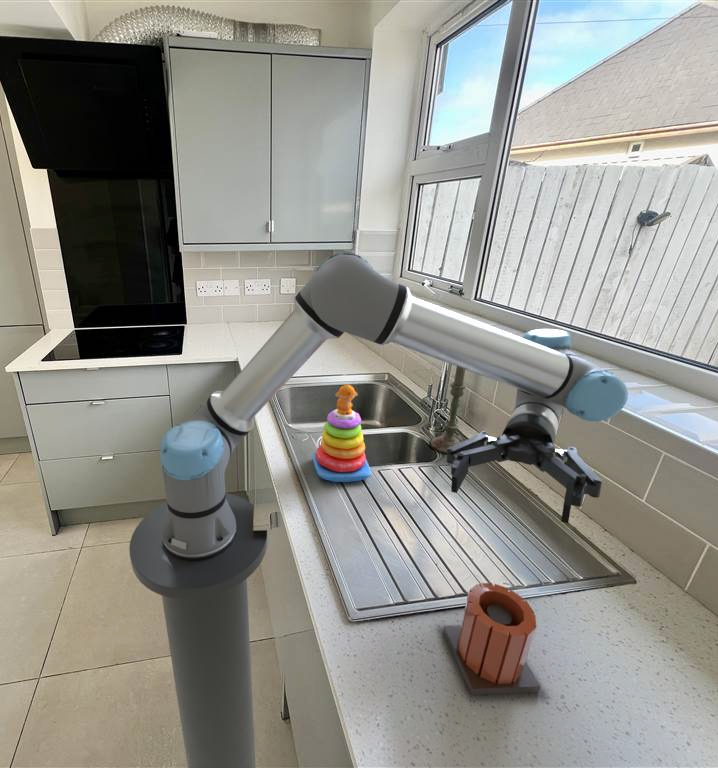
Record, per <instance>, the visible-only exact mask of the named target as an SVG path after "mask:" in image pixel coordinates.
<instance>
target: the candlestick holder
mask: <svg viewBox="0 0 718 768" xmlns="http://www.w3.org/2000/svg"><path fill="white" fill-rule="evenodd" d="M466 371H467V370H466V369H463V368H460V367H458V366H456V369H455V375H454V381H453V382H451V383H450V387H451V389H450V391H449V392H450V393H449V394H450V395H451V396H452V399H451V403H450V406H451V407H450V413H449V420H448V421H447V422H446V423H444V425H443V426H444V431H445V435H439V436H436V437H434V438H432V439H431V440H430V446H431V447H432V448H433V449H434V450H436V451H437V452H439V453H443V454H446V455H447V448H449V447H451V446H454V445H456V444H459V443H461V442H462V441H461V440H460V439H459V438H457V437H455V434H456V433H457V432H458V430H459V425H458V424H457V423H456V418H457V414H458V409H459V407H460V398H461V397H463V396H464V394H465V389H466V388H467V385H466V384H465V383H464V381H465V375H466ZM459 440H460V441H461V442H460V441H459Z"/></svg>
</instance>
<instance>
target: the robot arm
mask: <svg viewBox="0 0 718 768" xmlns="http://www.w3.org/2000/svg"><path fill="white" fill-rule="evenodd" d="M293 300H294V301H293V302H294V310H292V312H290V314H289V315H288V317H287V318H286V319H285V320H284V321H283V322H282V323H281V325H280V326H279V327H278V328H277V329H276V331H274V333H273V334H271V336H270V337H269V338H268V340H267V341H266V342H265V343H264V344H263V345H262V347H260V349H259V350H258V351H257V352H256V353H255V355H253V357H252V358H251V359H250V360H249V361H248V362H247V364H246V365H245V366H244V367H243V368H242V369H241V371H240V372H239V373H238V374H237V375H236V377H235V378H233V380H232V381H231V382H230V384H228V386H227V387H226V388H225V389H224V390H215V391H214V392H213V393H212V394H211V395H210V396H208V398H207V399H206V400H205V402H203V403H202V404H200V406H198V408H197V409H196V410H195V411H194V413H193V415H192V417H191V418H190V420H189V421H186V422H181V423H180V424H179V425H174V426H173V427H172V428H170V429H169V430H168V431H166V433H165V434H164V435H163V437H162V439H161V442H160V446H159V449H160V455H159V459H160V460H159V461H160V466H161V469H162V477H163V484H164V492H165V500H166V502H167V511H166V515H165V519H164V522H163V526H162V542H163V546H164V548H165V549H166V551H167V552H168V553H169V554H170V555H172V556H174V557H176V558H178V559H181V560H186V561H200V560H205V559H209V558H212V557H214V556H217V555H219V554H220V553H222V552H223V551H225V550H226V549H227V548H228V547H229V546H230V545H231V544H232V543H233V541H234V539H235V537H236V532H237V527H236V520H235V516H234V514H233V512H232V510H231V508H230V506H229V504H228V502H227V500H226V494H225V493H226V482H225V481H226V479H225V477H226V476H225V475H226V474H225V473H226V468H227V466H228V464H229V461H230V460H231V457H232V454H233V452H234V450H235V448H236V447H237V446H238V444H239V443H240V442H241V441H243V439H244V438H245V437H246V436H247V435H248V434H249V433H250V432H251V431H252V430H253V429H254V426H255V419H254V417H256V416H257V414H258V413H259V412H260V411H261V410H262V409H263V408H264V407H265V406H266V405H267V404H268V403H269V401H271V399H272V398H273V397H275V395H276V394H277V393H278V392H279V391H280V390H281V389H282V388H283V386H285V385H286V384H287V383H288V381H289V380H290V379H291V378H292V377H293V376H294V375H295V374H296V373H297V371H299V370H300V369H301V368H302V366H304V364H305V363H307V361H308V360H309V359H310V358H311V357H312V356H313V355H314V354H315V353H316V351H317V350H318V349H319V348H320V347H321V346H322V345H323V344H324V343H325V342H326V341H327V340H331V339H340V338H341V336H342V335H343V334H344V333H346V334H348V335H352V336H355V337H357V338H361V339H364V340H366V341H369V342H372V343H375V344H378V345H380V346H384V345H387V344H389V343H393V344H397V345H399V346H402V347H404V348H407V349H410V350H412V351H415V352H418V353H420V354H423V355H425V356H428V357H431V358H433V359H436V360H439V361H442V362H444V363H447V364H449V365H453V366H455V367H457V366H458V367H460V368H463V369H466V370H465V371H468V372H472V373H473V374H477V375H479V376H481V377H484V378H487V379H490V380H493V381H496V382H498V383H501V384H503V385H507V386H509V387H511V388H514V389H516V396H515V397H516V398H515V405H514V408H513V411H512V412H511V414H510V417H509V418H508V421H507V422H506V425H505V427H504V429H503V431H502V433H501V435H498V436H497V437H494V436H489V432H488V431H486V430H480V431H479V433H478V434H477V435H475V436H473V437H471V438H468V439H466V440H463V441H461V443H459V444H456V445H454V446H451V447H449V448H447V454H446V463H447V464H450V465H451V466H450V475H451V487H450V489H451V490H450V491H451V493H455V494H457V493H458V492H459V489H460V488H461V486H462V484H463V482H464V480H465V478H466V477H467V474H468V473H469V468H470V467H475V466H479V465H483V464H487V463H492V462H495V461H496V462H497V463H502V462H507V461H510V462H514V463H521V464H524V465H527V466H528V465H529V466H534V467H535V468H536V469H538V470H539V471H540V472H543V473H544V472H545V473H547V474H548V476H550V477H551V478H552V479H554V480H555V481H556V482H557V483H558V484H559V485H561V486H562V487H563V488H565V495H564V500H563V505H562V506H563V507H562V513H561V520H560V522H561V523H565V524H569V520H570V515H571V507H572V506H574V507H579V508H581V507H582V506H583V503H584V496H585V495H588V496H589V497H591V498H595V499H598V498H600V495H601V490H602V485H603V480H602V479H601V478H600V477H599V476H598V475H597V474H596V473H595V472H594V470H592V469H591V467H590V466H589V465H588V464H587V463H586V462H585V460H583V459H582V458H581V457H580V456H579V454H578V450H577V447H574V446H567V447H566V449H558V448H556V447H555V441H556V437H557V433H558V429H559V423H560V420H561V417H562V416H563V413H564V408H565V409H566V410H567V411H568V412H569V413H570V414H571V415H573V416H576V417H578V418H580V419H581V420H584V421H587V422H602V421H606V420H609V419H611V418H613V417H614V416H617V414H619V413H620V412H621V410H622V409H623V408H624V407H625V406H626V404H627V401H628V400H629V390H628V388H627V387H628V386H627V385H626V383H625V382H624V381H623V380H622V379H621V378H619V377H618V376H616V375H614V373H613V372H611V371H609V370H606V369H604V368H602V367H600V366H598V365H596V364H594V363H593V362H590V361H588V360H586V359H584V358H583V357H582V356H580V355H578V354H576V353H574V352H572V351H571V349H572V348H573V345H572V335H571V333H570V332H568V331H566V330H562V329H556V328H539V329H538V328H537V329H532V330H530V331H526V332H525V333H524V334H523V336H522V337H521V336H518V335H515V334H513V333H510V332H508V331H505V330H502V329H499V328H498V327H495V326H491V325H489V324H486V323H484V322H481V321H478V320H477V319H473V318H471V317H468V316H465V315H462V314H460V313H457V312H455V311H452V310H449V309H447V308H444V307H441V306H439V305H437V304H433V303H430V302H428V301H426V300H423V299H421V298H417V297H415V296H413V295H412V293H411V291H410V289H409V287H408V286H406V285H403V284H400V283H398V282H395V281H393V280H391V279H389V278H387V277H385V276H384V275H383V274H381V273H379V272H378V271H377V270H375V269H374V268H373V266H372V265H371V264H370V263H369V262H368V260H367V259H364V258H363V257H362V256H361V255H358V254H356V253H353V252H351V253H350V252H339V253H335V254H332V255H331V256H328V257H327V258H326V259H324V260H323V261H322V262H321V263H320V264H319V265H318V267H317V269H316V271H315V273H313V275H312V276H311V277H310V278H309V280H308V281H307V282H306V283H305V284H304V285H303V287H302V288H301V289H300V291H298V293H297V294H296V295H295V296H294V298H293Z"/></svg>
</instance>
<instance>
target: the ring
mask: <svg viewBox="0 0 718 768" xmlns="http://www.w3.org/2000/svg"><path fill="white" fill-rule="evenodd" d="M490 605H499V606H501V607H503V608H505V609H506V610H507V611H508V612H509V613H510V614H511V616H512V622H511V626H506V625H503V624H500V623H498V622H495V621H494V620H492V619H491V618H490V617H489V616H487V615H486V611H487V608H488V607H489V606H490ZM536 629H537V615H535V611H534V610H533V608H532V607H531V605H530V604H529V602H528V601H527V600H525V598H524V597H522V596H521V595H519V594H518V593H517V592H515V591H514V590H512V589H511V590H510V589H509V588H508V587H506V586H503V585H500V584H498V583H494V584H493V583H492V582H482V583H481V582H480V583H478V584H475V585H474V586H473V587H471V588H470V589H469V591H468V593H467V598H466V601H465V606H464V611H463V615H462V620H461V629H460V633H459V639H458V647H459V648H458V650H459V652H460V654H461V656H462V658H463V660H464V661H466V664H467V665H468V666H469V667H470V668H471V669H472V670H473V671H474V672H475V673H476V674H477V675H478V674H479V673H480V677H482V678H484V679H487V680H489V681H491V682H493V683H495V682H496V681H497V683H498V684H508V683H511V682H513V683H514V682H515V681H516V680H517V679H518V678H519V677H520V676H521V673H522V670H523V667H524V664H525V662H526V660H527V657H528V654H529V652H530V648H531V646H532V642H533V638H534V636H535V633H536Z"/></svg>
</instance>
